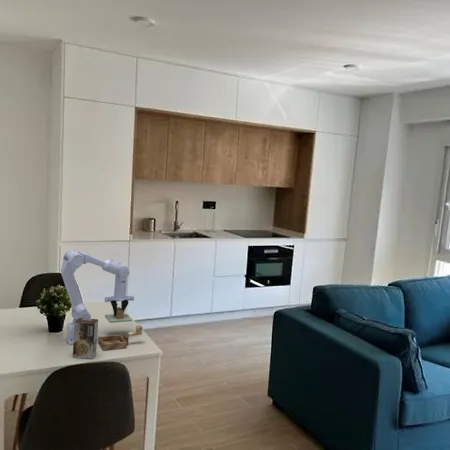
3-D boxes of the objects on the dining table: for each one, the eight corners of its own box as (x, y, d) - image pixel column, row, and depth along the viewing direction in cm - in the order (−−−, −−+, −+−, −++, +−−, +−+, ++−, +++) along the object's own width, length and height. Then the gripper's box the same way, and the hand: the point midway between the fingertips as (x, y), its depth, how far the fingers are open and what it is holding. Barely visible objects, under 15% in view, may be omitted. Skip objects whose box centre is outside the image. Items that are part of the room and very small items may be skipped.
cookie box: (96, 353, 203) (99, 319, 201) (92, 359, 196) (95, 323, 195) (76, 351, 202) (78, 317, 201) (71, 357, 196) (74, 322, 194)
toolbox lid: (109, 323, 219) (110, 313, 219) (104, 316, 228) (105, 307, 227) (131, 321, 224) (132, 311, 224) (126, 315, 233) (126, 305, 233)
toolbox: (102, 350, 206) (103, 342, 206) (97, 342, 215) (98, 334, 214) (130, 347, 213) (130, 339, 212) (123, 340, 221) (124, 332, 221)
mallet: (129, 336, 215) (130, 328, 215) (128, 334, 218) (128, 326, 218) (141, 335, 218) (142, 327, 218) (139, 333, 221) (140, 325, 221)
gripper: (107, 291, 218) (106, 318, 219) (136, 290, 225) (134, 316, 226) (104, 287, 224) (102, 314, 225) (132, 286, 231) (130, 312, 232)
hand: (118, 314), depth 226 cm, fingers closed on toolbox lid, 3 cm apart
